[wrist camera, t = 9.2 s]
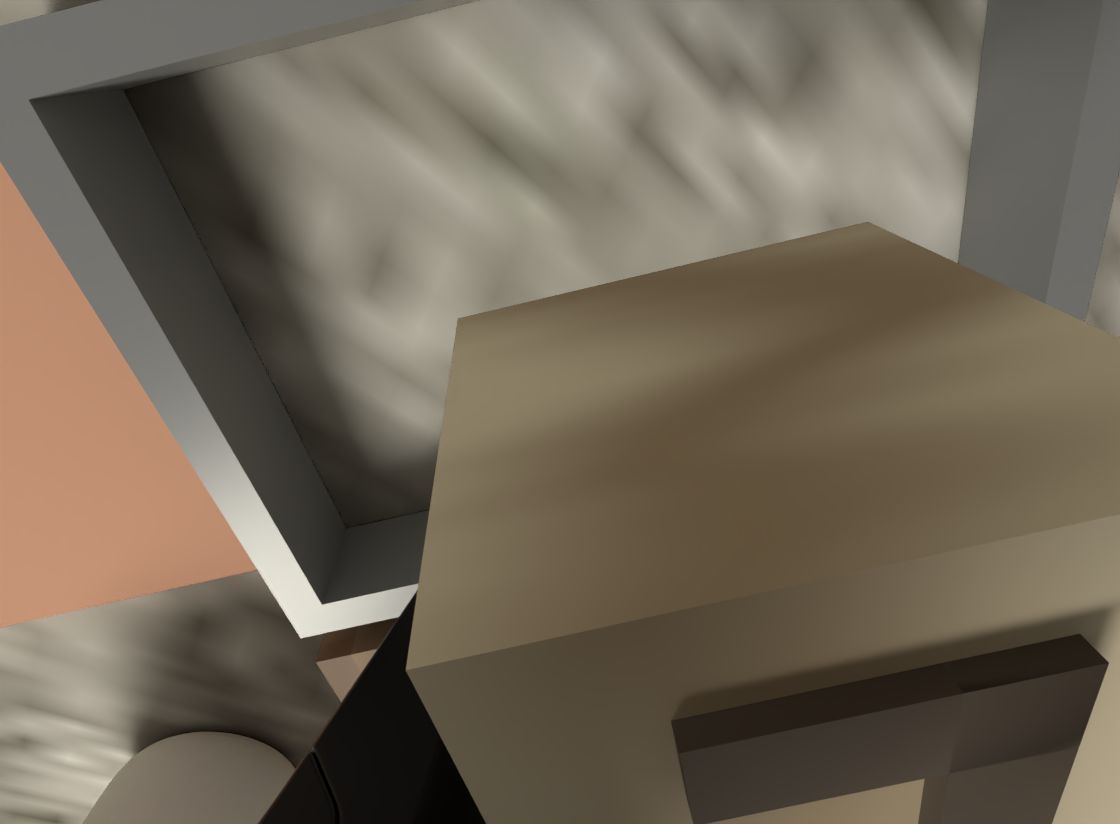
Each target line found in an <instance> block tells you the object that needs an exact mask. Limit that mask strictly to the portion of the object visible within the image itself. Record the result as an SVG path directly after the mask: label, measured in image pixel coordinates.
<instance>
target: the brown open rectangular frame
mask: <svg viewBox="0 0 1120 824" xmlns="http://www.w3.org/2000/svg"><path fill="white" fill-rule="evenodd" d="M398 618H399V617H396V618H392V619H387V620H383V621H378V622H373V623H369V624H364V625H360V626H355V627H351V628H346V629H341V630H337V631H332V632H328V633H324V637H323V640H322V643H321V647H320V650H319V653H318V657H317V660H316V663H317V665H318V667H319V668H320V670H321V671H322V673H323V675H324V676H325V678H326V679H327V681H328V683H329V684H330V686H331V687H332V689H333V690H334V692H335V694H336V695H337V697H338V698H339V700H340V702H342V700H343V699H344V697H345V696H346V694H347V693H348V691H349V690H350V688H351V687H352V685H353V684H354V682H355V681H356V680H357V678H358V677H359V675H360V674H361V672H362V671H363V669H364V668H365V666H366V665H367V663H368V662H369V660H370V659H371V657H372V656H373V654H374V653H375V652H376V650H377V649H378V647H379V646H380V644H381V643H382V641H383V640H384V638H385V637H386V635H387V634H388V632H389V631H390V629H391V628H392V626H393V625H394V624H395V622H396V621H397V619H398Z"/></svg>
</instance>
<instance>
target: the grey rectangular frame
mask: <svg viewBox="0 0 1120 824" xmlns="http://www.w3.org/2000/svg"><path fill="white" fill-rule="evenodd" d="M474 1H478V0H100V1H96V2H92V3H88V4H84V5H80V6H77V7H73V8H69V9H65V10H61V11H57V12H53V13H49V14H45V15H41V16H38V17H34V18H30V19H26V20H22V21H18V22H14V23H10V24H6V25H2V26H0V162H1V164H2V165H3V167H4V168H5V170H6V172H7V173H8V175H9V176H10V178H11V180H12V181H13V183H14V184H15V186H16V187H17V189H18V191H19V192H20V194H21V195H22V197H23V199H24V200H25V202H26V203H27V205H28V207H29V208H30V210H31V211H32V213H33V214H34V216H35V218H36V219H37V221H38V222H39V224H40V226H41V227H42V229H43V230H44V232H45V233H46V235H47V237H48V238H49V240H50V241H51V243H52V245H53V246H54V248H55V249H56V251H57V253H58V254H59V256H60V257H61V259H62V260H63V262H64V264H65V265H66V267H67V268H68V270H69V272H70V273H71V275H72V276H73V278H74V280H75V281H76V283H77V284H78V286H79V287H80V289H81V291H82V292H83V294H84V295H85V297H86V299H87V300H88V302H89V303H90V305H91V306H92V308H93V310H94V311H95V313H96V314H97V316H98V318H99V319H100V321H101V322H102V324H103V326H104V327H105V329H106V330H107V332H108V333H109V335H110V337H111V338H112V340H113V341H114V343H115V345H116V346H117V348H118V349H119V351H120V352H121V354H122V356H123V357H124V359H125V360H126V362H127V364H128V365H129V367H130V368H131V370H132V372H133V373H134V375H135V376H136V378H137V379H138V381H139V383H140V384H141V386H142V387H143V389H144V391H145V392H146V394H147V395H148V397H149V399H150V400H151V402H152V403H153V405H154V406H155V408H156V410H157V411H158V413H159V414H160V416H161V418H162V419H163V421H164V422H165V424H166V425H167V427H168V429H169V430H170V432H171V433H172V435H173V437H174V438H175V440H176V441H177V443H178V445H179V446H180V448H181V449H182V451H183V452H184V454H185V456H186V457H187V459H188V460H189V462H190V464H191V465H192V467H193V468H194V470H195V471H196V473H197V475H198V476H199V478H200V479H201V481H202V483H203V484H204V486H205V487H206V489H207V491H208V492H209V494H210V495H211V497H212V498H213V500H214V502H215V503H216V505H217V506H218V508H219V510H220V511H221V513H222V514H223V516H224V518H225V519H226V521H227V522H228V524H229V525H230V527H231V529H232V530H233V532H234V533H235V535H236V537H237V538H238V540H239V541H240V543H241V544H242V546H243V548H244V549H245V551H246V552H247V554H248V556H249V557H250V559H251V560H252V562H253V564H254V565H255V567H256V568H257V570H258V571H259V573H260V575H261V576H262V578H263V579H264V581H265V583H266V584H267V586H268V587H269V589H270V590H271V592H272V594H273V595H274V597H275V598H276V600H277V602H278V603H279V605H280V606H281V608H282V610H283V611H284V613H285V614H286V616H287V617H288V619H289V621H290V622H291V624H292V625H293V627H294V629H295V630H296V632H297V633H298V635H299V636H300V638H305V637H310V636H314V635H319V634H323V633H328V632H332V631H337V630H341V629H346V628H351V627H355V626H360V625H364V624H369V623H373V622H378V621H383V620H387V619H392V618H396V617H399V616H400V615H401V613H402V612H403V610H404V609H405V607H406V606H407V604H408V603H409V601H410V600H411V598H412V597H413V595H414V594H415V593H416V591H417V590H418V584H419V577H420V571H421V564H422V557H423V550H424V544H425V537H426V530H427V523H428V517H429V510H427V511H422V512H418V513H414V514H409V515H405V516H400V517H396V518H391V519H387V520H382V521H378V522H373V523H369V524H365V525H360V526H356V527H351V528H347V529H346V527H345V526H344V524H343V522H342V520H341V518H340V516H339V514H338V512H337V510H336V508H335V506H334V504H333V502H332V500H331V498H330V496H329V494H328V492H327V490H326V488H325V486H324V484H323V482H322V480H321V478H320V476H319V474H318V472H317V470H316V468H315V466H314V464H313V462H312V461H311V459H310V457H309V455H308V453H307V451H306V449H305V447H304V445H303V443H302V441H301V439H300V437H299V435H298V433H297V431H296V429H295V427H294V425H293V423H292V421H291V419H290V417H289V415H288V413H287V411H286V409H285V407H284V405H283V403H282V401H281V399H280V398H279V396H278V394H277V392H276V390H275V388H274V386H273V384H272V382H271V380H270V378H269V376H268V374H267V372H266V370H265V368H264V366H263V364H262V362H261V360H260V358H259V356H258V354H257V352H256V350H255V348H254V346H253V344H252V342H251V340H250V338H249V336H248V335H247V333H246V331H245V329H244V327H243V325H242V323H241V321H240V319H239V317H238V315H237V313H236V311H235V309H234V307H233V305H232V303H231V301H230V299H229V297H228V295H227V293H226V291H225V289H224V287H223V285H222V283H221V281H220V279H219V277H218V275H217V273H216V272H215V270H214V268H213V266H212V264H211V262H210V260H209V258H208V256H207V254H206V252H205V250H204V248H203V246H202V244H201V242H200V240H199V238H198V236H197V234H196V232H195V230H194V228H193V226H192V224H191V222H190V220H189V218H188V216H187V214H186V212H185V210H184V208H183V207H182V205H181V203H180V201H179V199H178V197H177V195H176V193H175V191H174V189H173V187H172V185H171V183H170V181H169V179H168V177H167V175H166V173H165V171H164V169H163V167H162V165H161V163H160V161H159V159H158V157H157V155H156V153H155V151H154V149H153V147H152V145H151V144H150V142H149V140H148V138H147V136H146V134H145V132H144V130H143V128H142V126H141V124H140V122H139V120H138V118H137V116H136V114H135V112H134V110H133V108H132V106H131V104H130V102H129V100H128V98H127V96H126V94H125V92H124V89H128V88H132V87H136V86H140V85H144V84H148V83H152V82H156V81H160V80H164V79H168V78H172V77H176V76H180V75H184V74H187V73H191V72H195V71H199V70H203V69H207V68H211V67H215V66H219V65H223V64H227V63H231V62H235V61H239V60H243V59H247V58H251V57H255V56H259V55H263V54H267V53H271V52H275V51H279V50H283V49H287V48H291V47H295V46H299V45H303V44H307V43H311V42H315V41H319V40H323V39H327V38H331V37H335V36H339V35H343V34H347V33H351V32H355V31H359V30H363V29H367V28H371V27H374V26H378V25H382V24H386V23H390V22H394V21H398V20H402V19H406V18H410V17H414V16H418V15H422V14H426V13H430V12H434V11H438V10H442V9H446V8H450V7H454V6H458V5H462V4H466V3H470V2H474ZM1119 171H1120V0H988V7H987V15H986V24H985V33H984V42H983V51H982V59H981V68H980V77H979V86H978V94H977V103H976V112H975V121H974V130H973V138H972V147H971V156H970V165H969V173H968V182H967V191H966V200H965V209H964V217H963V226H962V235H961V244H960V253H959V261H958V264H960V265H962V266H964V267H967V268H969V269H971V270H973V271H975V272H977V273H980V274H982V275H984V276H986V277H988V278H990V279H993V280H995V281H997V282H999V283H1001V284H1003V285H1006V286H1008V287H1010V288H1012V289H1014V290H1016V291H1019V292H1021V293H1023V294H1025V295H1027V296H1030V297H1032V298H1034V299H1036V300H1038V301H1040V302H1043V303H1045V304H1047V305H1049V306H1051V307H1053V308H1056V309H1058V310H1060V311H1062V312H1064V313H1066V314H1069V315H1071V316H1073V317H1075V318H1077V319H1079V320H1082V321H1084V322H1085V318H1086V314H1087V310H1088V305H1089V301H1090V297H1091V292H1092V288H1093V284H1094V279H1095V275H1096V271H1097V266H1098V262H1099V258H1100V253H1101V249H1102V245H1103V240H1104V236H1105V232H1106V227H1107V223H1108V219H1109V214H1110V210H1111V206H1112V201H1113V197H1114V193H1115V188H1116V184H1117V179H1118V175H1119Z"/></svg>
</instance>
